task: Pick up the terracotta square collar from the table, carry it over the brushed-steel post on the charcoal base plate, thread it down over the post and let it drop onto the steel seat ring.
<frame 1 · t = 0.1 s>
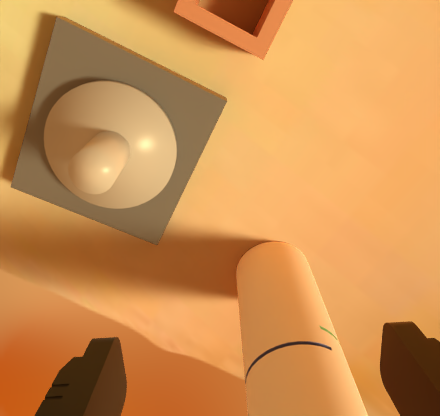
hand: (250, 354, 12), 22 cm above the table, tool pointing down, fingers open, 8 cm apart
cylindrical container: (272, 271, 37), on the table
post plate: (118, 140, 31), on the table
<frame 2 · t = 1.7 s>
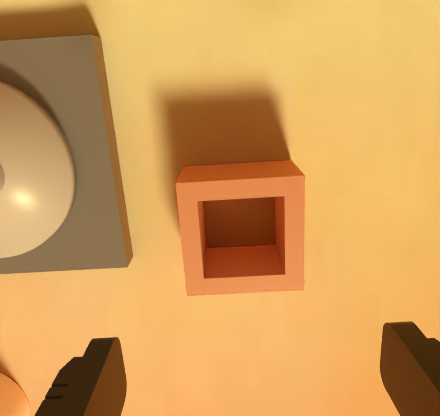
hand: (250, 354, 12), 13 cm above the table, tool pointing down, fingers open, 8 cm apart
collar: (239, 213, 24), on the table
post plate: (2, 164, 23), on the table
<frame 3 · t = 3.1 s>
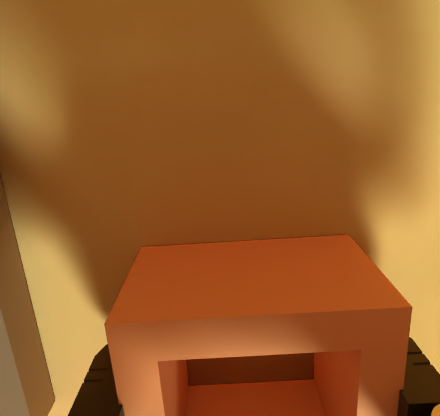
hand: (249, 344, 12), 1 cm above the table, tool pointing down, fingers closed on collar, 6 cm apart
collar: (248, 329, 13), on the table, touching gripper
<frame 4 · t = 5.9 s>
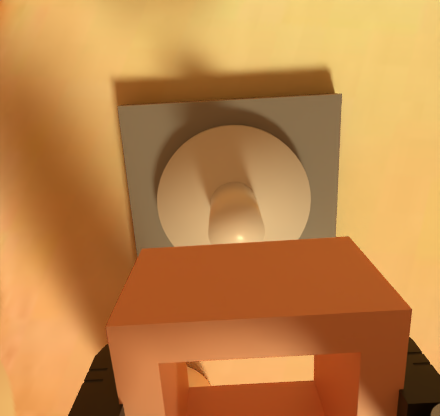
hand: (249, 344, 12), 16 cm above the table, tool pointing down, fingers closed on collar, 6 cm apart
collar: (248, 330, 13), point 15 cm above the table, touching gripper
post plate: (232, 193, 27), on the table
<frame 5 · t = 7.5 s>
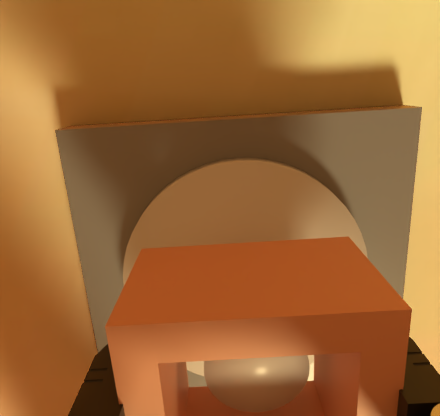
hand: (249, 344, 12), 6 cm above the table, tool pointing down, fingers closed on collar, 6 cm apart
collar: (248, 330, 13), point 6 cm above the table, touching gripper
post plate: (242, 256, 18), on the table
when the fingers open (4 cm above the table, at t = 8.9 s): collar stays where it is, resting on post plate.
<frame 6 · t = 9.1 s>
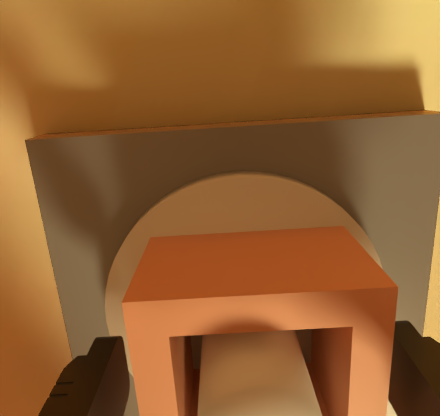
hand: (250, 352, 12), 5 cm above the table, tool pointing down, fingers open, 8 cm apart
collar: (250, 315, 14), point 2 cm above the table, touching post plate
post plate: (241, 280, 16), on the table
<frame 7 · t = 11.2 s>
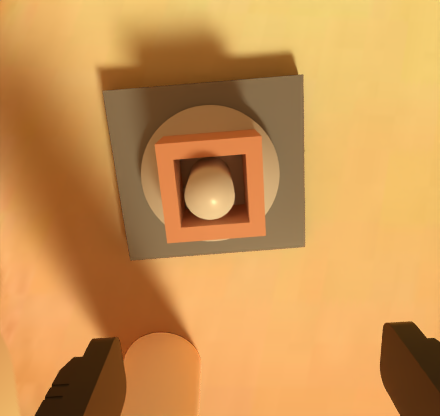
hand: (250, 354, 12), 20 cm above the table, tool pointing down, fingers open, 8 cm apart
cylindrical container: (163, 363, 35), on the table
collar: (212, 177, 27), point 2 cm above the table, touching post plate
post plate: (210, 170, 30), on the table
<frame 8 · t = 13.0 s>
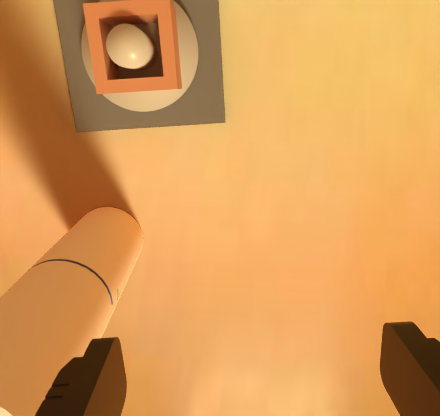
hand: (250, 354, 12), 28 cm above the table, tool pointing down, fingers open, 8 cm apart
cylindrical container: (110, 237, 41), on the table
collar: (141, 52, 33), point 2 cm above the table, touching post plate
post plate: (145, 54, 35), on the table
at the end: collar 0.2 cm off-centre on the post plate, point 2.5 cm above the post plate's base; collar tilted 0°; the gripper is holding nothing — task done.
